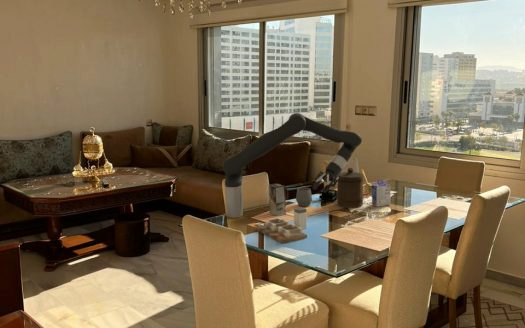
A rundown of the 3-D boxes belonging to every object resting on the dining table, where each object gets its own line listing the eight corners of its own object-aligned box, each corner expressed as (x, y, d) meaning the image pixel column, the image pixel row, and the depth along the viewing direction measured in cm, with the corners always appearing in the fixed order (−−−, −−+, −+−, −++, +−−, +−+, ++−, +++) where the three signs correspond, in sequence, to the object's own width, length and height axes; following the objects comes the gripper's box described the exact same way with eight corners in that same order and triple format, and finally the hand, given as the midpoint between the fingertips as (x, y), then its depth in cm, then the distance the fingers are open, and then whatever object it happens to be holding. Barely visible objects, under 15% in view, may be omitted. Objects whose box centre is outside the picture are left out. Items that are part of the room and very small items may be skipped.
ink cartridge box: (385, 202, 286) (385, 178, 283) (390, 205, 281) (391, 180, 278) (371, 204, 282) (371, 180, 279) (376, 207, 277) (377, 182, 274)
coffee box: (286, 214, 268) (286, 186, 265) (276, 216, 265) (275, 187, 262) (278, 210, 276) (277, 183, 273) (268, 212, 273) (268, 184, 270)
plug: (294, 227, 246) (294, 208, 244) (301, 225, 248) (301, 207, 246) (299, 229, 242) (299, 210, 240) (306, 228, 244) (306, 209, 242)
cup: (312, 203, 288) (312, 187, 286) (312, 207, 279) (312, 191, 277) (296, 203, 289) (296, 187, 287) (295, 207, 280) (295, 191, 278)
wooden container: (367, 203, 284) (368, 167, 280) (354, 209, 273) (354, 171, 269) (345, 199, 294) (346, 164, 290) (332, 205, 283) (332, 168, 279)
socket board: (256, 229, 243) (256, 221, 242) (279, 224, 250) (279, 216, 249) (282, 243, 223) (281, 234, 222) (306, 237, 230) (306, 228, 229)
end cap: (338, 200, 294) (338, 189, 293) (333, 202, 289) (333, 191, 287) (324, 197, 300) (324, 187, 299) (318, 200, 295) (318, 189, 293)
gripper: (323, 159, 255) (306, 183, 251) (341, 163, 243) (323, 188, 239) (331, 167, 258) (314, 192, 255) (349, 172, 246) (331, 197, 243)
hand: (318, 190), depth 247 cm, fingers open, 8 cm apart
